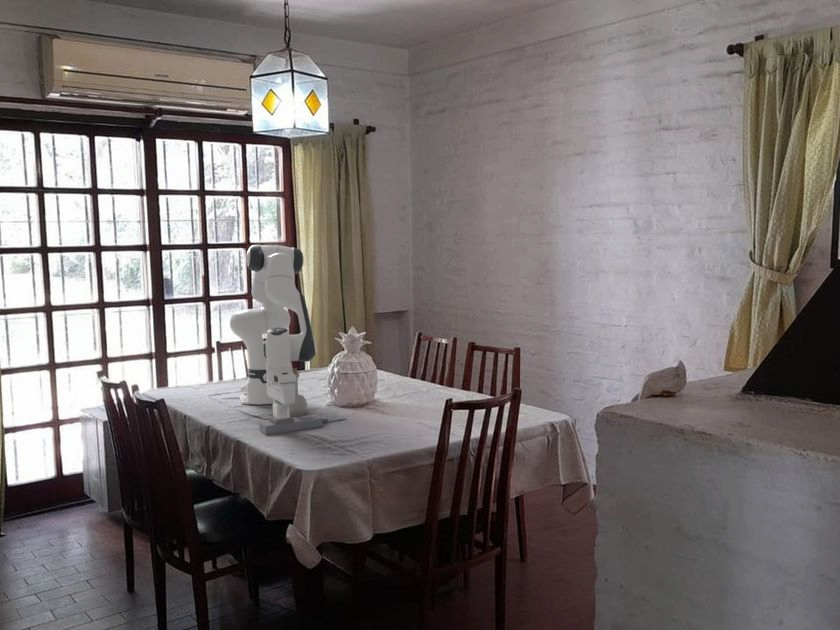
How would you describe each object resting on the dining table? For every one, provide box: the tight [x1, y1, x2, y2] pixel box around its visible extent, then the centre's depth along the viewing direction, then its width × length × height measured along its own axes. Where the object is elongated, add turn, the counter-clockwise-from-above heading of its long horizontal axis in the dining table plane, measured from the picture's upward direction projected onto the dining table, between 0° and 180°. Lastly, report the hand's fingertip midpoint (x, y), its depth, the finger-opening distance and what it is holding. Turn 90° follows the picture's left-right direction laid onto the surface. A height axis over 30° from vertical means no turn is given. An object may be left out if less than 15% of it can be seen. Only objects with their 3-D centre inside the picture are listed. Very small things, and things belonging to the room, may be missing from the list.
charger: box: [272, 401, 290, 420], centre depth 279 cm, size 4×4×7 cm
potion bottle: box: [289, 367, 308, 417], centre depth 303 cm, size 9×9×18 cm
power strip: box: [259, 414, 328, 436], centre depth 282 cm, size 7×25×4 cm, turn 119°
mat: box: [318, 412, 347, 424], centre depth 294 cm, size 10×10×1 cm
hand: (281, 412), depth 279 cm, fingers closed on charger, 4 cm apart
